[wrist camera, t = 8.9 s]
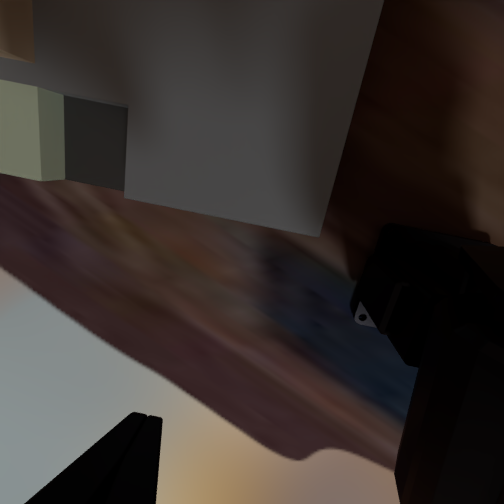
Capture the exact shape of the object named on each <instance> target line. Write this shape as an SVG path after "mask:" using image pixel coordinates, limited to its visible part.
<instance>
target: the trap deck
mask: <svg viewBox="0 0 504 504" xmlns="http://www.w3.org/2000/svg"><path fill="white" fill-rule="evenodd" d="M383 3H384V0H32V10H33V32H34V54H35V64H34V63H29V62H24V61H19V60H14V59H9V58H4V57H0V173H4V174H8V175H13V176H18V177H23V178H28V179H33V180H38V181H50V180H62V179H67V180H72V181H77V182H82V183H87V184H91V185H96V186H101V187H106V188H111V189H116V190H121V191H124V198H127V199H132V200H137V201H142V202H147V203H152V204H157V205H161V206H166V207H171V208H176V209H181V210H186V211H191V212H196V213H201V214H206V215H211V216H216V217H221V218H226V219H231V220H236V221H240V222H245V223H250V224H255V225H260V226H265V227H270V228H275V229H280V230H285V231H290V232H295V233H300V234H305V235H310V236H314V237H319V236H320V232H321V228H322V225H323V221H324V218H325V214H326V210H327V207H328V203H329V199H330V196H331V192H332V188H333V185H334V181H335V177H336V174H337V170H338V167H339V163H340V159H341V156H342V152H343V148H344V145H345V141H346V137H347V134H348V130H349V127H350V123H351V119H352V116H353V112H354V108H355V105H356V101H357V97H358V94H359V90H360V86H361V83H362V79H363V76H364V72H365V68H366V65H367V61H368V57H369V54H370V50H371V46H372V43H373V39H374V35H375V32H376V28H377V25H378V21H379V17H380V14H381V10H382V6H383Z"/></svg>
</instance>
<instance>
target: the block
mask: <svg viewBox="0 0 504 504" xmlns="http://www.w3.org/2000/svg"><path fill="white" fill-rule="evenodd" d="M0 57H4V58H9V59H14V60H19V61H24V62H29V63H34V64H35V54H34V32H33V10H32V0H0Z"/></svg>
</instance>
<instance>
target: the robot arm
mask: <svg viewBox="0 0 504 504" xmlns="http://www.w3.org/2000/svg"><path fill="white" fill-rule="evenodd" d="M391 229H394V230H395V233H394V234H393V235H392V236H389V235H388V232H389V231H390V230H391ZM356 295H357V297H358V300H357V303H356V306H355V309H354V312H353V317H354V319H355V321H356V322H357V323H358V324H361V325H366V326H371V327H376V328H377V329H378V330H379V332H380V333H381V334H384V335H387V336H388V338H389V340H390V341H391V343H392V344H393V346H394V347H395V349H396V350H397V352H398V353H399V355H400V356H401V358H402V359H403V361H404V363H405V364H406V365H409V366H413V367H418V368H419V369H418V373H417V377H416V381H415V385H414V389H413V393H412V397H411V401H410V405H409V409H408V413H407V417H406V421H405V425H404V429H403V433H402V437H401V441H400V445H399V449H398V454H397V460H396V466H395V472H394V475H395V480H396V485H397V490H398V495H399V500H400V504H504V247H498V246H496V245H493V244H491V243H488V242H483V241H478V240H473V239H468V238H463V237H458V236H453V235H448V234H443V233H438V232H433V231H428V230H423V229H418V228H413V227H408V226H403V225H398V224H393V223H389V224H387V225H385V226H384V227H383V229H382V230H381V233H380V236H379V239H378V242H377V245H376V248H375V251H374V254H373V255H371V256H370V257H368V259H367V262H366V265H365V268H364V271H363V274H362V277H361V280H360V283H359V286H358V289H357V292H356ZM361 314H365V316H364V317H362V318H359V316H360V315H361ZM162 422H163V419H162V418H161V417H157V416H152V415H150V416H148V417H147V415H146V414H142V413H137V412H132V413H131V414H129V415H128V416H127V417H126V418H125V419H123V420H122V421H121V422H120V423H119V424H117V425H116V426H115V427H114V428H113V429H112V430H110V431H109V432H108V433H107V434H106V435H105V436H103V437H102V438H101V439H100V440H99V441H97V442H96V443H95V444H94V445H93V446H92V447H90V448H89V449H88V450H87V451H86V452H85V453H83V454H82V455H81V456H80V457H79V458H77V459H76V460H75V461H74V462H73V463H72V464H70V465H69V466H68V467H67V468H66V469H64V470H63V471H62V472H61V473H60V474H59V475H57V476H56V477H55V478H54V479H53V480H52V481H50V482H49V483H48V484H47V485H46V486H44V487H43V488H42V489H41V490H40V491H39V492H37V493H36V494H35V495H34V496H33V497H32V498H30V499H29V500H28V501H27V502H26V503H24V504H156V494H157V482H158V471H159V458H160V446H161V435H162Z"/></svg>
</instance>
